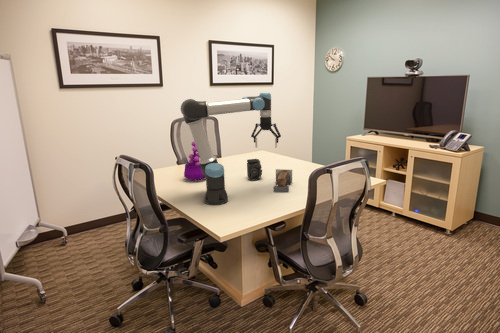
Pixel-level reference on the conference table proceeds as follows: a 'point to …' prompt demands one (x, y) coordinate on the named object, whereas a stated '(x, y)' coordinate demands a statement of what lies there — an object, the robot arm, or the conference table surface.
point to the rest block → (281, 189)
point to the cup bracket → (289, 175)
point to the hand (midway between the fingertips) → (266, 147)
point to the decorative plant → (193, 166)
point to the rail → (282, 179)
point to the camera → (254, 169)
